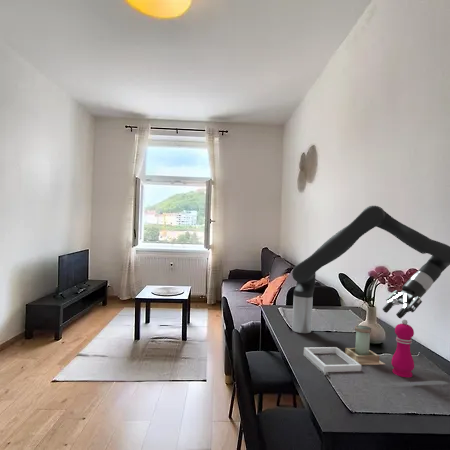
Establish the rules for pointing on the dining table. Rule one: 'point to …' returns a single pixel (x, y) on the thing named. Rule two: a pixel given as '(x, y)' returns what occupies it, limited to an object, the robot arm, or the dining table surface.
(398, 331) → the pepper mill
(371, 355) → the holder
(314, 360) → the tray
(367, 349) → the green lidded jar
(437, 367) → the dining table surface
